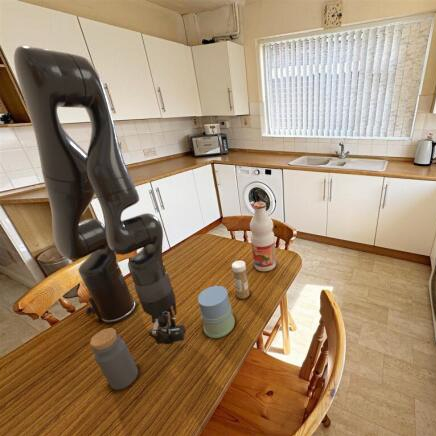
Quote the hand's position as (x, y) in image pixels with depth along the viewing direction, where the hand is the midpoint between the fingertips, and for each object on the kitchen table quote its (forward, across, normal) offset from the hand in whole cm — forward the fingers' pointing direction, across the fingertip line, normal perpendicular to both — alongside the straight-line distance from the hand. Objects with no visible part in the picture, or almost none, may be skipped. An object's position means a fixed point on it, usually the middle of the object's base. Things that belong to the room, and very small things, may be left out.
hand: (171, 337), depth 67 cm
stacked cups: (+2, -4, +12) cm, 13 cm away
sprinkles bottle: (+3, -16, +19) cm, 25 cm away
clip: (0, 0, 0) cm, 0 cm away
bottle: (+3, +8, -9) cm, 13 cm away
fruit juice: (+3, -32, +28) cm, 43 cm away
